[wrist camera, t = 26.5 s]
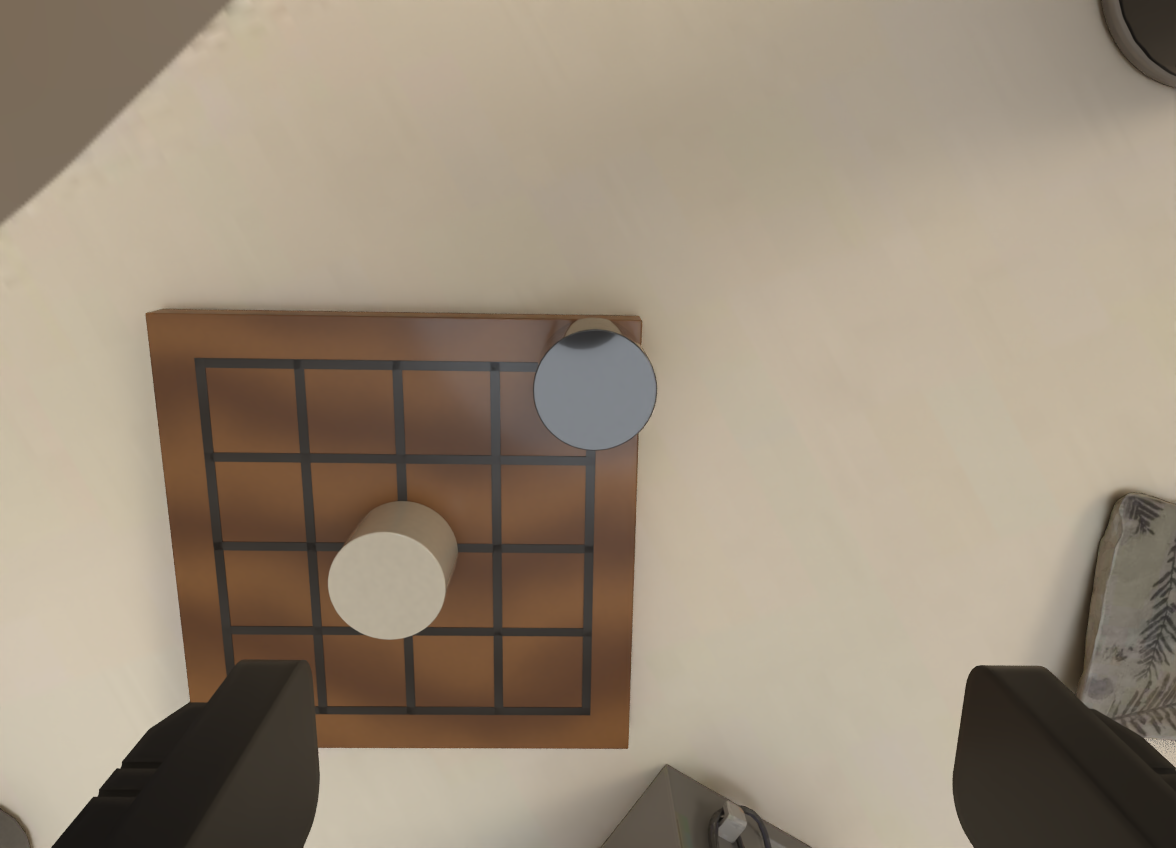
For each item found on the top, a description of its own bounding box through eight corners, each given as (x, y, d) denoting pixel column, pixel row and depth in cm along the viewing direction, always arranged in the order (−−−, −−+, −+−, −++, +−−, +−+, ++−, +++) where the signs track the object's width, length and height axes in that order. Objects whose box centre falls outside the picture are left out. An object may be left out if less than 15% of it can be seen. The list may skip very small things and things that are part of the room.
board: (162, 308, 34) (144, 312, 33) (639, 315, 35) (642, 320, 33) (208, 728, 39) (194, 748, 38) (626, 729, 40) (628, 749, 38)
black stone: (536, 316, 33) (532, 328, 30) (650, 318, 33) (659, 329, 30) (537, 427, 34) (532, 450, 31) (646, 427, 34) (655, 451, 31)
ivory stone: (348, 500, 35) (323, 531, 32) (456, 500, 35) (444, 532, 32) (354, 599, 36) (331, 639, 33) (459, 599, 36) (447, 640, 33)
